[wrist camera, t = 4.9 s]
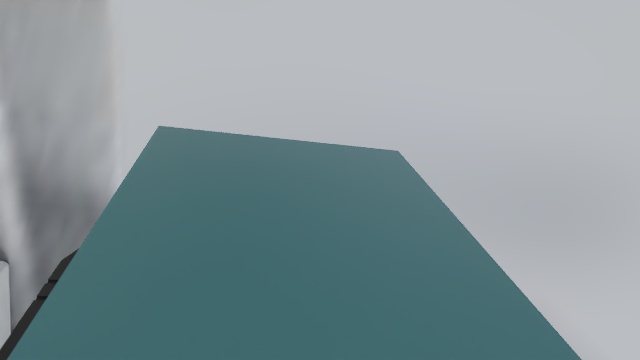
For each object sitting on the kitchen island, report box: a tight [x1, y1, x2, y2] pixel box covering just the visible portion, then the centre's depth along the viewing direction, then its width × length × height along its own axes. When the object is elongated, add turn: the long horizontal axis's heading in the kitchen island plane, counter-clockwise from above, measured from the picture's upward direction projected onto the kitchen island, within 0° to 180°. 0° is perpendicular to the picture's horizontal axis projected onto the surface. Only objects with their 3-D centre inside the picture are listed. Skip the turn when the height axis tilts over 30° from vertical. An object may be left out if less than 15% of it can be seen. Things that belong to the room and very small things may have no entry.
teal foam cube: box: [7, 126, 581, 360], centre depth 7 cm, size 6×6×7 cm
